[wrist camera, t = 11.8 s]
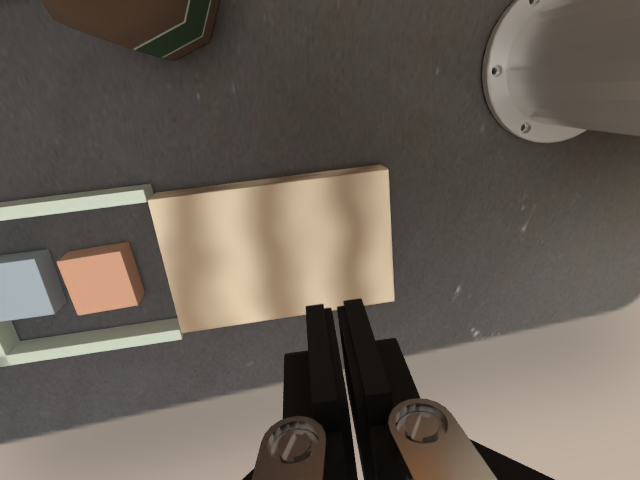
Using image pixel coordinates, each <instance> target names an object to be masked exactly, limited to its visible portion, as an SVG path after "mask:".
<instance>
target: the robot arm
mask: <svg viewBox="0 0 640 480" xmlns="http://www.w3.org/2000/svg"><path fill="white" fill-rule="evenodd" d="M492 68H493V69H494V73H493V74H492ZM482 81H483V91H484V95H485V98H486V102H487V105H488V107H489V109H490V111H491V113H492V114H493V116H494V118H495V119H496V120H497V121H498V123H499V124H500V125H501V126H502V127H503V128H504V129H506V130H507V131H508V132H510V133H511V134H512V135H515V136H517V137H519V138H521V139H524V140H528V141H533V142H540V143H553V142H561V141H564V140H567V139H570V138H573V137H576V136H577V135H579V134H581V133H583V132H585V131H587V130H594V131H602V132H610V133H617V134H625V135H633V136H640V0H530V3H529V0H514V1H513V2H512V3H511V4H510V6H509V7H508V8H507V9H506V10H505V11H504V12H503V14H502V15H501V17H500V19H499V20H498V22H497V24H496V25H495V27H494V28H493V31H492V33H491V36H490V38H489V41H488V43H487V46H486V50H485V55H484V59H483V69H482ZM521 126H522V129H521ZM343 304H344V306H338V307H337V312H338V319H339V327H340V335H341V343H342V351H343V359H344V367H345V374H346V382H347V387H348V394H349V400H350V405H351V411H352V416H353V422H354V427H355V433H356V438H357V443H358V449H359V454H360V460H361V465H362V471H363V476H364V480H554V479H552V478H550V477H548V476H546V475H544V474H542V473H539V472H538V471H536V470H533V469H531V468H529V467H527V466H525V465H523V464H521V463H519V462H517V461H514V460H512V459H510V458H508V457H506V456H504V455H502V454H500V453H498V452H495V451H493V450H491V449H489V448H487V447H485V446H483V445H480V444H479V443H477V442H475V441H472V440H470V439H469V438H468V437H467V435H466V434H465V432H464V431H463V429H462V428H461V427H460V425H459V424H458V422H457V421H456V419H455V418H454V417H453V415H452V414H451V413H450V412H449V411H448V410H447V409H446V408H445V407H444V406H442V405H441V404H439V403H437V402H435V401H431V400H428V399H420V396H419V394H418V391H417V389H416V386H415V384H414V382H413V379H412V376H411V375H410V371H409V369H408V366H407V364H406V362H405V359H404V357H403V354H402V352H401V349H400V347H399V344H398V342H397V340H396V338H391V339H384V340H377V341H375V339H374V335H373V332H372V329H371V326H370V323H369V320H368V317H367V314H366V311H365V307H364V304H363V301H362V299H361V298H359V299H352V300H345V301H343ZM306 322H307V337H308V351H301V352H294V353H287V354H285V356H284V392H283V394H284V395H283V420H280V421H278V422H277V423H276V424H274V425H273V426H271V427H270V428H269V430H268V431H267V432H266V433H265V435H264V437H263V440H262V442H261V445H260V449H259V453H258V457H257V461H256V464H255V468H254V469H253V470H252V471H251V472H250V473H249V474H248V475H247V476H246V477H245V478H243V480H358V478H357V470H356V462H355V454H354V447H353V439H352V432H351V423H350V415H349V408H348V401H347V394H346V388H345V382H344V377H343V371H342V365H341V360H340V354H339V348H338V343H337V337H336V331H335V326H334V320H333V314H332V309H331V308H324V304H317V305H310V306H306Z"/></svg>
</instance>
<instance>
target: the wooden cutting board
mask: <svg viewBox="0 0 640 480" xmlns="http://www.w3.org/2000/svg"><path fill="white" fill-rule="evenodd" d="M148 204H149V208H150V212H151V216H152V219H153V223H154V227H155V231H156V235H157V239H158V243H159V247H160V251H161V254H162V258H163V262H164V266H165V270H166V274H167V278H168V282H169V286H170V289H171V293H172V297H173V301H174V305H175V309H176V313H177V317H178V321H179V324H180V328H181V332H182V333H186V332H192V331H199V330H205V329H212V328H219V327H225V326H232V325H239V324H245V323H252V322H259V321H265V320H272V319H279V318H285V317H292V316H298V315H305V314H306V306H310V305H317V304H324V308H331V309H332V310H337V307H338V306H344V304H343V301H345V300H352V299H359V298H361V299H362V301H363V304H364V306H365V305H371V304H378V303H385V302H391V301H394V281H393V259H392V238H391V216H390V194H389V172H388V169H387V168H385V167H384V166H382V165H381V164H379V165H371V166H363V167H355V168H347V169H340V170H332V171H324V172H316V173H308V174H300V175H292V176H284V177H276V178H268V179H260V180H252V181H244V182H236V183H229V184H221V185H213V186H205V187H197V188H189V189H181V190H173V191H165V192H157V193H155V194H154V195H153V196H152V197H151V198H149V199H148Z"/></svg>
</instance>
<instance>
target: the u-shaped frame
mask: <svg viewBox="0 0 640 480" xmlns="http://www.w3.org/2000/svg"><path fill="white" fill-rule="evenodd" d="M153 195H154V194H153V190H152V186H151V184H143V185H135V186H127V187H119V188H111V189H103V190H95V191H87V192H79V193H71V194H63V195H55V196H47V197H39V198H31V199H23V200H15V201H7V202H0V221H3V220H10V219H18V218H26V217H34V216H42V215H50V214H57V213H65V212H73V211H81V210H89V209H97V208H104V207H112V206H120V205H128V204H136V203H144V202H147V201H148V199H149V198H151V197H152V196H153ZM183 335H184V333H182V332H181V328H180V324H179V321H178V318H173V319H166V320H159V321H152V322H146V323H139V324H132V325H125V326H119V327H112V328H105V329H98V330H92V331H85V332H78V333H71V334H64V335H58V336H51V337H44V338H37V339H31V340H24V341H20V339H19V337H18V335H17V332H16V330H15V327H14V325H13V323H12V320H9V321H2V322H0V367H3V366H9V365H16V364H22V363H29V362H36V361H42V360H49V359H55V358H62V357H69V356H75V355H82V354H88V353H95V352H102V351H108V350H115V349H121V348H128V347H135V346H141V345H148V344H154V343H161V342H167V341H174V340H181V339H182V338H183Z"/></svg>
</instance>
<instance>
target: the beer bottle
mask: <svg viewBox="0 0 640 480" xmlns="http://www.w3.org/2000/svg"><path fill="white" fill-rule="evenodd" d="M41 1H42V2H43V4H44V5H45V7H46V8H47V10H48V11H49V13H50V15H51V16H52V18H53V19H54V20H56V21H58V22H60V23H62V24H64V25H66V26H68V27H71V28H73V29H76V30H79V31H82V32H85V33H88V34H90V35H93V36H96V37H99V38H102V39H105V40H107V41H110V42H113V43H116V44H119V45H122V46H124V47H127V48H130V49H133V50H136V51H140V52H143V53H147V54H150V55H154V56H157V57H161V58H164V59H168V60H177V59H179V58H181V57H183V56H184V55H186V54H188V53H190V52H192V51H194V50H196V49H197V48H199V47H201V46H203V45H205V44H207V43H209V42H210V39H211V35H212V30H213V26H214V22H215V18H216V14H217V9H218V5H219V1H220V0H41Z"/></svg>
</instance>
